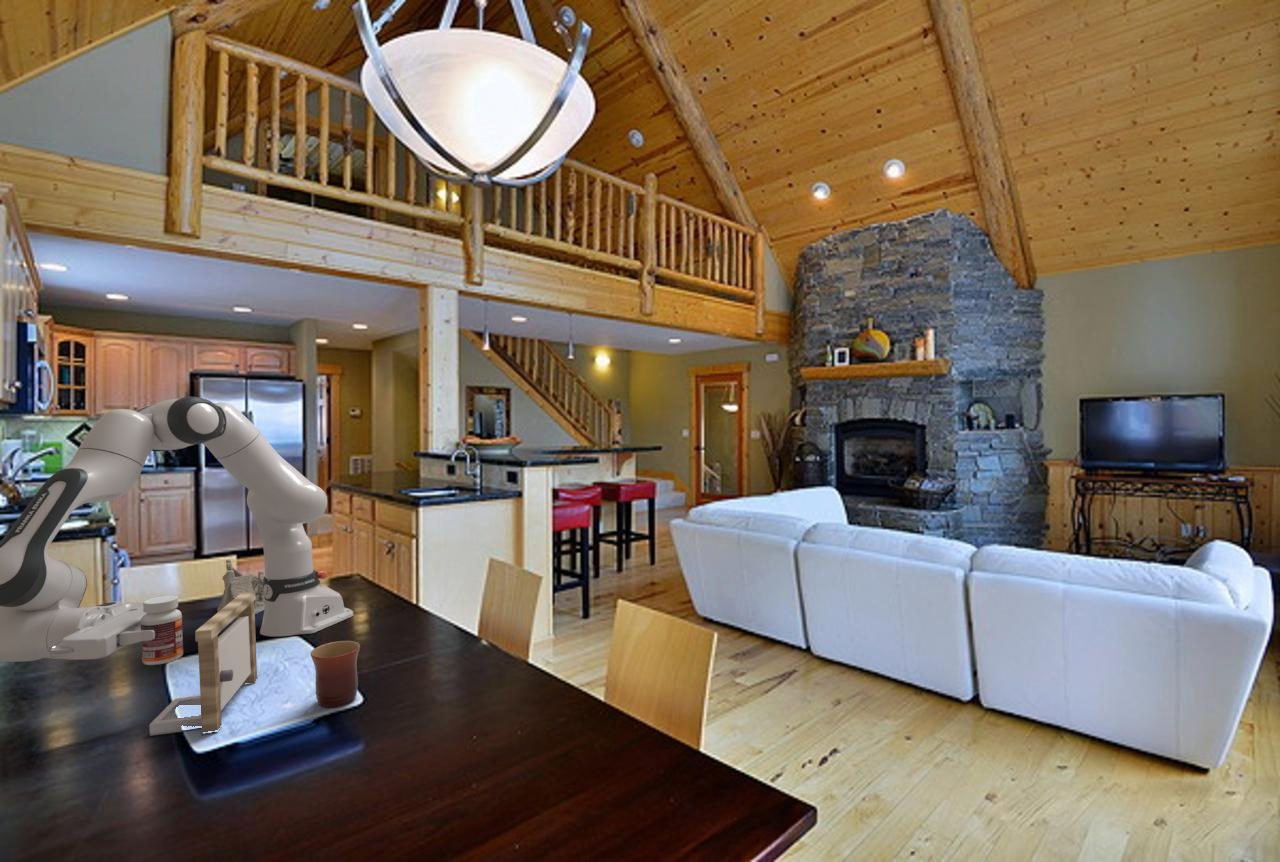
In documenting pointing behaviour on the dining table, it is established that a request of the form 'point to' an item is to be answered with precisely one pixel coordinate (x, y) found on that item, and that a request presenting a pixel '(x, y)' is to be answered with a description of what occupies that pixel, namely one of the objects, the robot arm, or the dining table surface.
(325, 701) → the mug
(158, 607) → the pill bottle
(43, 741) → the dining table surface
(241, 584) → the ceramic cottage
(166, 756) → the dining table surface
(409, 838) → the dining table surface
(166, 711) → the keeper
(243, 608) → the door frame
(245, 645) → the door
